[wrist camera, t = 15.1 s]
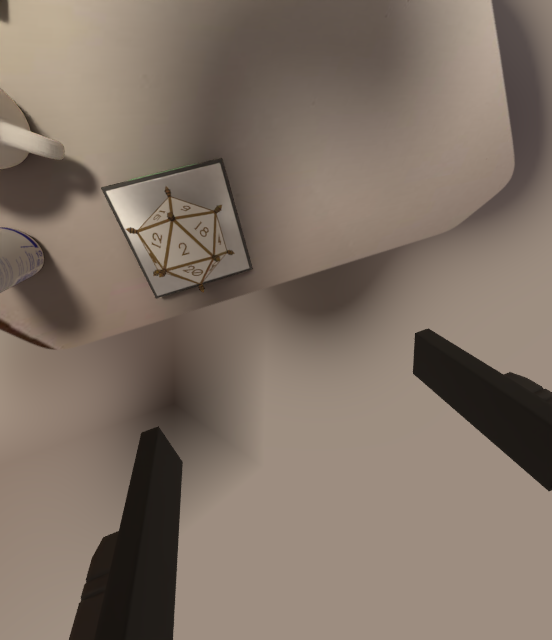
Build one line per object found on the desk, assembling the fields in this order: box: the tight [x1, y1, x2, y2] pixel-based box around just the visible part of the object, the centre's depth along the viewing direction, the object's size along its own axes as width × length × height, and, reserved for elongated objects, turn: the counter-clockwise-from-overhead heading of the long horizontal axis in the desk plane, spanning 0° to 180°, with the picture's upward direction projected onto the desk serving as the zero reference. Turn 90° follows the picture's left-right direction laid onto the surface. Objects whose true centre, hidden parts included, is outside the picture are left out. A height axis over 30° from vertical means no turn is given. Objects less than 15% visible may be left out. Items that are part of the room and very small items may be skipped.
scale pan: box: [106, 163, 249, 296], centre depth 29 cm, size 11×11×1 cm
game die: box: [126, 186, 235, 292], centre depth 25 cm, size 9×8×10 cm
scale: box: [101, 158, 253, 298], centre depth 30 cm, size 12×12×2 cm
